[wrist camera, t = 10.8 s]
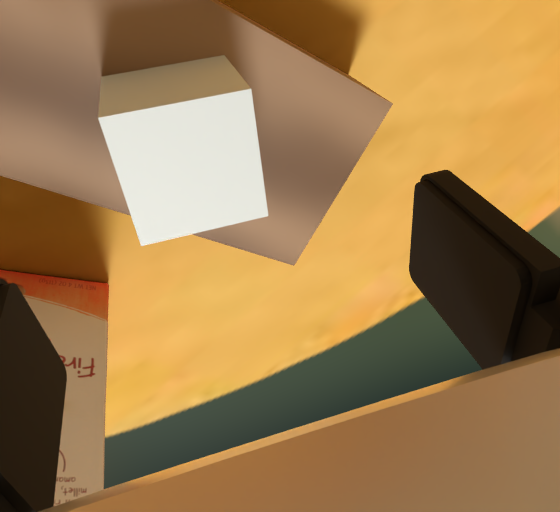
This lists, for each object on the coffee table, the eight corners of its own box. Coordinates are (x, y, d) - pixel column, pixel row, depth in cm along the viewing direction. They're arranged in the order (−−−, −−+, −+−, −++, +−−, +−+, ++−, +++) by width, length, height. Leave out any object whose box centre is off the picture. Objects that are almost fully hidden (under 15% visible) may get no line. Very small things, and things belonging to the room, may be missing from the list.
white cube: (224, 54, 20) (251, 88, 16) (241, 164, 23) (268, 215, 19) (101, 76, 19) (98, 117, 15) (136, 187, 22) (141, 245, 18)
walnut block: (2, -124, 19) (-35, -139, 15) (345, 73, 28) (392, 103, 23) (-48, 102, 23) (-89, 148, 19) (267, 214, 32) (294, 265, 27)
